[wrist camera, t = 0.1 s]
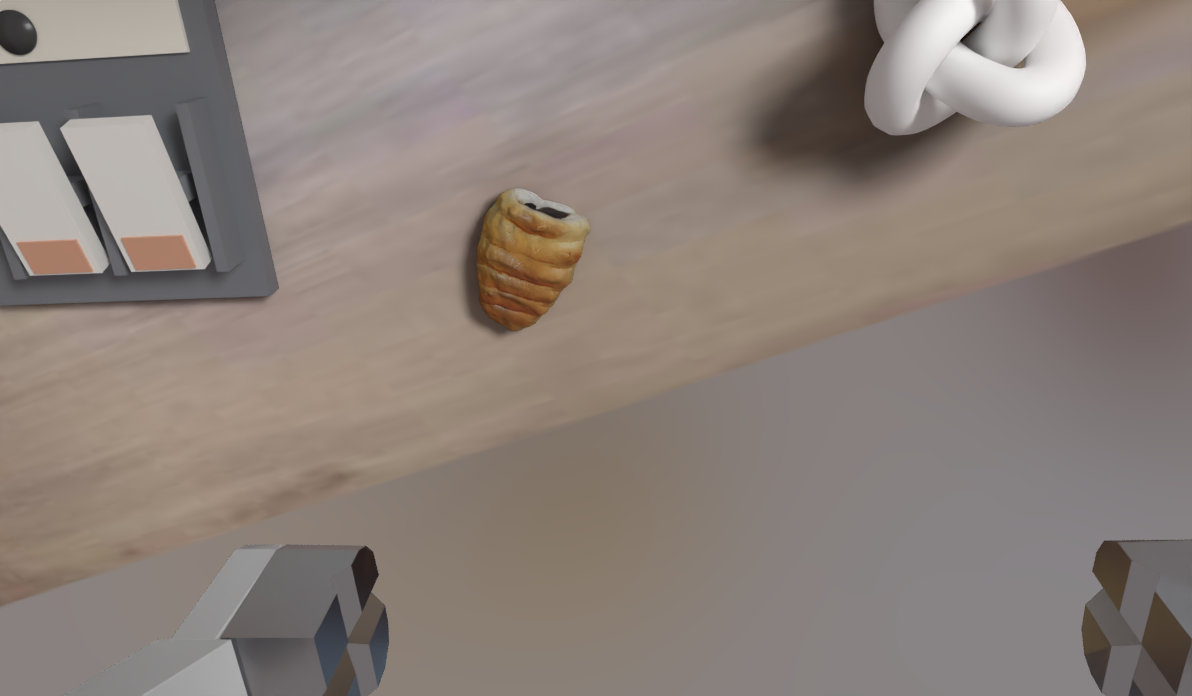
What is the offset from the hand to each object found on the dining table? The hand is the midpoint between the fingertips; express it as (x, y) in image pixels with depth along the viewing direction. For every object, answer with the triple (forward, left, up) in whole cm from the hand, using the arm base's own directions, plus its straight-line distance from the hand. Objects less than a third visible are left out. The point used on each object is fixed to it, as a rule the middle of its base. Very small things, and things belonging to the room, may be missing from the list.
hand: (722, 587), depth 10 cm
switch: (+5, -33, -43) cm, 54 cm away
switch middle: (+5, -40, -43) cm, 59 cm away
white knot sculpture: (-1, +15, -48) cm, 50 cm away
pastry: (+11, -10, -48) cm, 51 cm away
